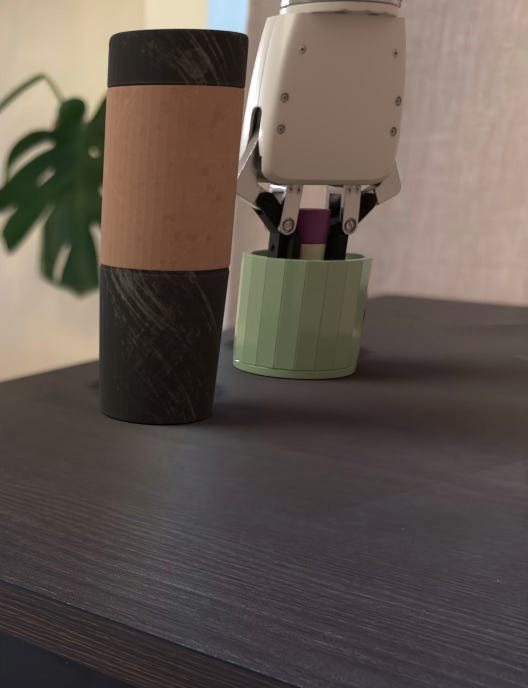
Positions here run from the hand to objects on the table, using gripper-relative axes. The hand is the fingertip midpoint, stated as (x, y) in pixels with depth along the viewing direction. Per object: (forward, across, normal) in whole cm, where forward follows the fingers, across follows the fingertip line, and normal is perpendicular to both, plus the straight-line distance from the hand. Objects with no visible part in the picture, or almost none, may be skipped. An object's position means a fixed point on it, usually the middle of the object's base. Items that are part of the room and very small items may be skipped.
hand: (301, 289), depth 70 cm
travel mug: (+6, +15, +11) cm, 19 cm away
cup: (+6, 0, 0) cm, 6 cm away
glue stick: (+4, 0, 0) cm, 4 cm away
